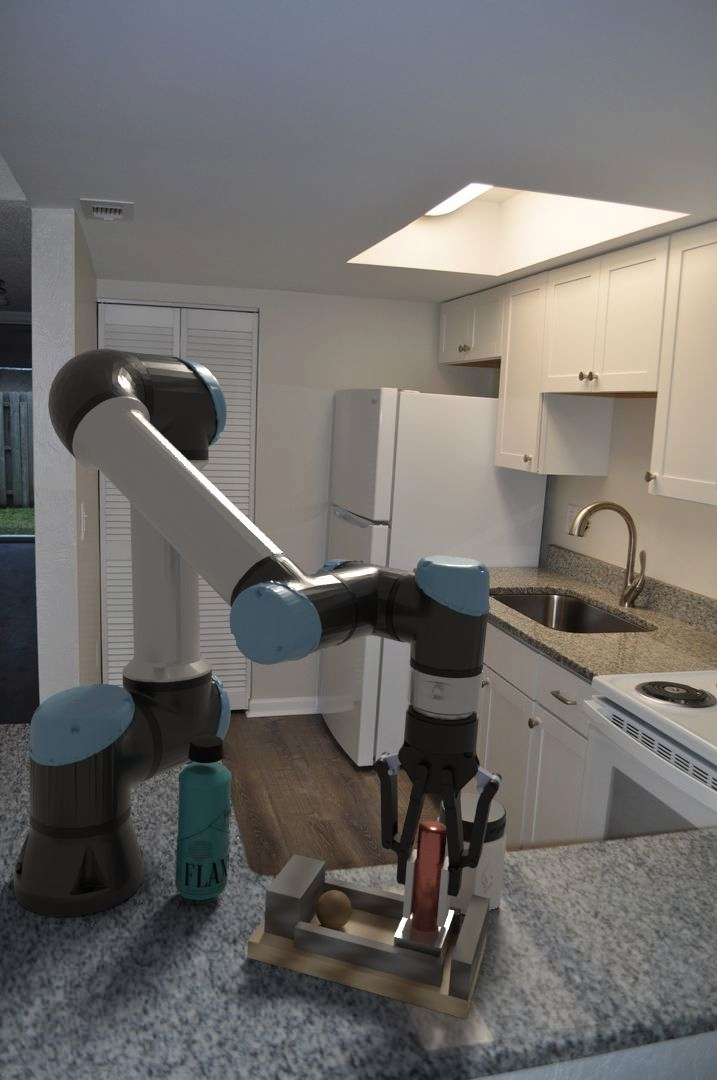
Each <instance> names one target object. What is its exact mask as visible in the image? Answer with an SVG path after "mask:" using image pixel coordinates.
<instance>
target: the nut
mask: <svg viewBox="0 0 717 1080" xmlns="http://www.w3.org/2000/svg"><path fill="white" fill-rule="evenodd" d="M351 913H352V906H351V902H350V900H349V898H348V897H347V896H346V895H345V894H344V893H343V892H341V891H337V890H331V891H328V892H326V893H324V894H323V895H322V896H321V897H320V898H319V900H318V902H317V905H316V915H317V918H318V920H319V922H320V923H321V924H322V925H323V926H324V927H326V928H328V929H339V928H341V927H343V926H344V925H345V924H346V923H347V922H348V921H349V919H350V917H351Z"/></svg>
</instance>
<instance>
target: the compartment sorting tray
mask: <svg viewBox="0 0 717 1080" xmlns="http://www.w3.org/2000/svg"><path fill="white" fill-rule="evenodd" d="M326 865H327V862H326V861H325V860H320V859H317V858H316V859H315V858H312V857H307V856H303V855H299V854H295V853H294V854H293V855H292V856H291V858H290V859H289V860H288V862H286V864H285V865H284V867H283V868H282V869H281V870H280V872H279V873H278V874H277V876H276V877H275V878H274V880H273V881H272V882H271V883H270V884H269V886H268V887H267V888H266V890H265V904H264V905H265V908H264V909H265V910H264V918H263V919H262V921H261V922H260V924H259V925H258V926H257V928H256V929H255V930H254V931H253V933H252V934H251V936H250V937H249V939H248V940H247V949H246V951H247V954H246V958H248V959H252V960H256V961H259V962H261V963H262V962H263V963H266V964H270V965H272V966H277V967H280V968H284V969H288V970H291V971H295V972H298V973H301V974H305V975H309V976H312V977H316V978H320V979H323V980H327V981H330V982H333V983H336V982H337V984H340V985H343V986H347V987H352V988H355V989H358V990H362V991H366V992H369V993H372V994H375V995H376V994H377V995H380V996H383V997H388V998H391V999H394V1000H398V1001H401V1002H405V1003H408V1004H412V1005H415V1006H418V1007H422V1008H426V1009H429V1010H433V1011H436V1012H440V1013H443V1014H447V1015H451V1016H454V1017H458V1018H461V1019H464V1020H467V1017H468V1013H469V1011H470V1006H471V1002H472V999H473V995H474V993H475V987H476V984H477V981H478V977H479V973H480V970H479V969H481V966H482V961H483V958H484V955H483V954H485V951H486V947H485V946H486V944H487V935H488V924H489V923H488V922H489V913H490V911H489V904H490V898H485V897H481V896H477V895H473V894H472V897H471V900H470V903H469V906H468V909H467V913H466V915H464V919H463V922H462V924H461V915H462V914H461V909H458V908H454V907H450V906H449V910H453V911H454V922H453V933H452V938H451V941H450V944H449V947H448V950H447V953H446V956H445V959H443V958H439V957H435V956H431V955H428V954H424V953H420V952H416V951H412V950H409V949H405V948H401V947H397V946H394V936H395V934H396V932H397V929H398V927H399V925H400V923H401V921H402V918H403V907H404V895H403V894H399V893H395V892H391V891H388V890H383V889H379V888H374V887H371V886H366V885H363V884H357V883H355V882H354V883H353V882H350V881H346V880H342V879H337V878H333V877H329V876H328V877H327V878H326V867H327V866H326ZM325 879H326V880H325ZM331 890H337V891H341V892H343V893H344V894H345V895H346V896H347V897H348V898H349V900H350V902H351V906H352V913H351V917H350V919H349V921H348V922H347V923H346V924H345V925H344V926H343V927H341V928H339V929H328V928H326V927H324V926H323V925H322V924H321V923H320V922H319V920H318V918H317V915H316V905H317V902H318V900H319V898H320V897H321V896H322V895H323V894H324V893H326V892H328V891H331ZM484 950H485V951H484ZM480 965H481V966H480Z"/></svg>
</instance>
